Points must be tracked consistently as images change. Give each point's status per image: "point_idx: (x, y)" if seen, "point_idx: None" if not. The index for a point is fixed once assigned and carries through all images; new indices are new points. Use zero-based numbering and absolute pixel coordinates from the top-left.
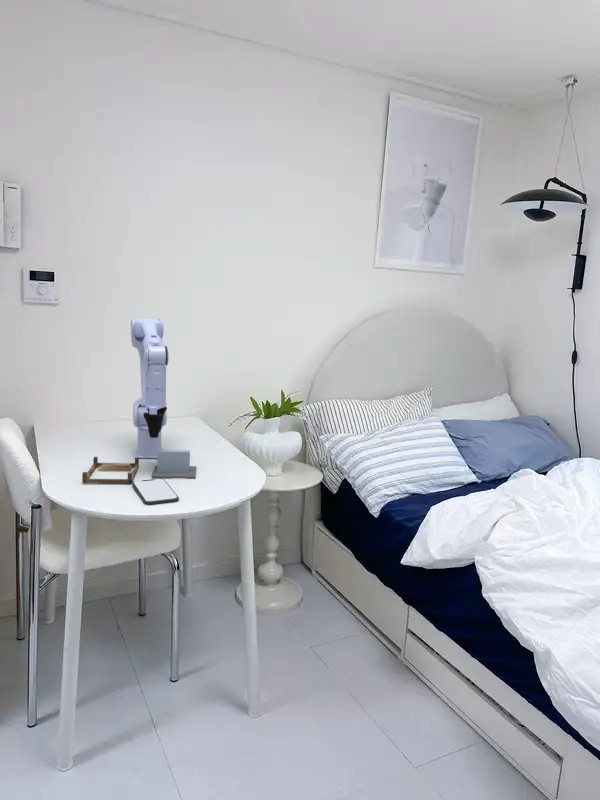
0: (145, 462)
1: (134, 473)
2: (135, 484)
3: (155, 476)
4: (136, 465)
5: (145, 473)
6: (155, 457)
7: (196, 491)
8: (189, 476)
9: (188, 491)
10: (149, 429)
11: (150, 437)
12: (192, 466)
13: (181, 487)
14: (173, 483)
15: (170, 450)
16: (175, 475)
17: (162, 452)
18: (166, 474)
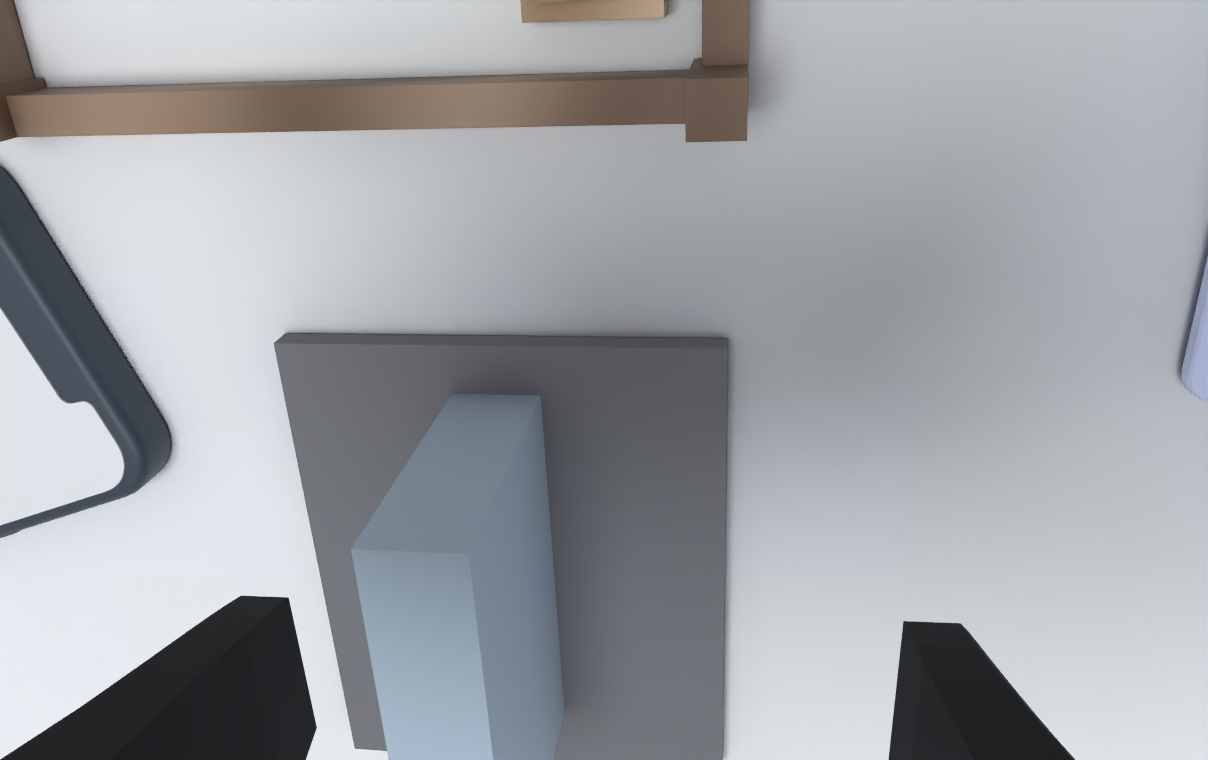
0: (1006, 178)
1: (253, 131)
2: None
3: (282, 386)
4: (621, 103)
5: (466, 241)
6: (1202, 316)
7: (30, 723)
8: (349, 703)
9: (8, 668)
10: (70, 738)
11: (232, 604)
12: (706, 742)
13: (89, 619)
14: (179, 554)
15: (456, 718)
16: (356, 584)
17: (370, 609)
18: (372, 498)
